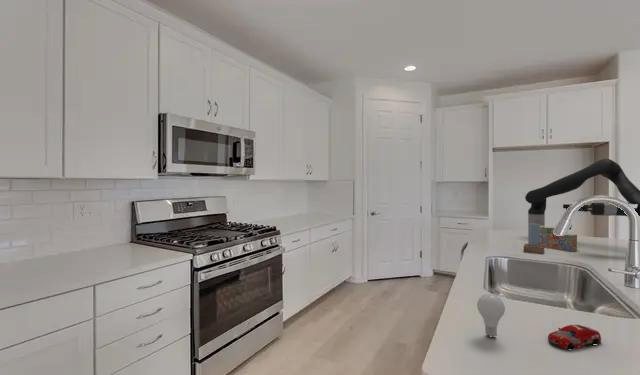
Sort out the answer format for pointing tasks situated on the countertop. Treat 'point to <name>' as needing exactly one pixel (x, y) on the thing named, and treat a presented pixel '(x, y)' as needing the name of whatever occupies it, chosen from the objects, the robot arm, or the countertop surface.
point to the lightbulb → (491, 312)
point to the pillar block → (533, 234)
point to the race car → (574, 337)
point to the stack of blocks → (557, 240)
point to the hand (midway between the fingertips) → (564, 207)
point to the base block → (534, 249)
